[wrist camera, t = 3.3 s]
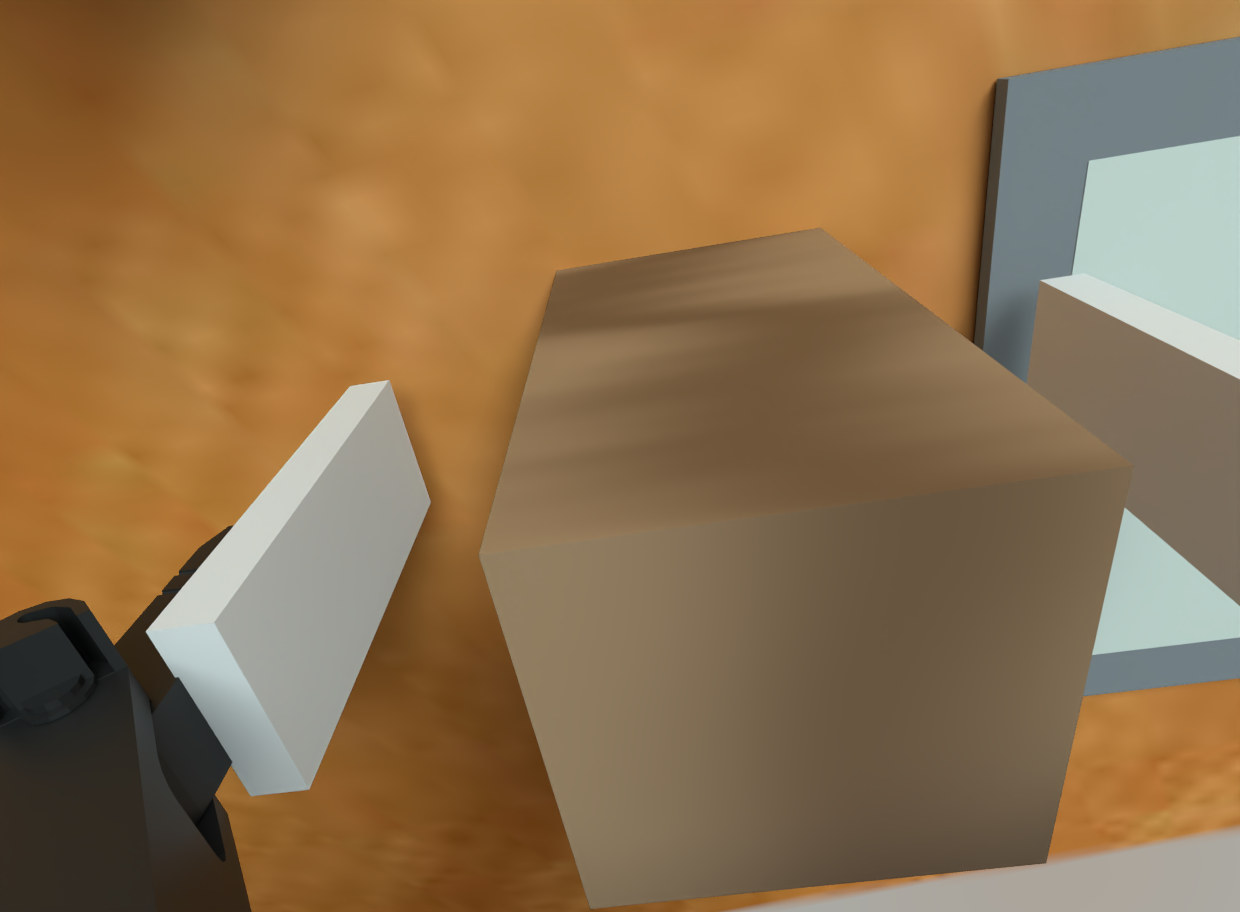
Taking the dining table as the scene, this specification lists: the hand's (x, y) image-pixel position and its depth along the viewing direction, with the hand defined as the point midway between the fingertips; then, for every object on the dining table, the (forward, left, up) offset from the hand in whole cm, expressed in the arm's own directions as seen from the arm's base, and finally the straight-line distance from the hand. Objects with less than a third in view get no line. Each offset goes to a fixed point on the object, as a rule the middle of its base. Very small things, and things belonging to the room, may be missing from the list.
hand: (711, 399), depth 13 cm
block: (0, 0, -1) cm, 1 cm away
